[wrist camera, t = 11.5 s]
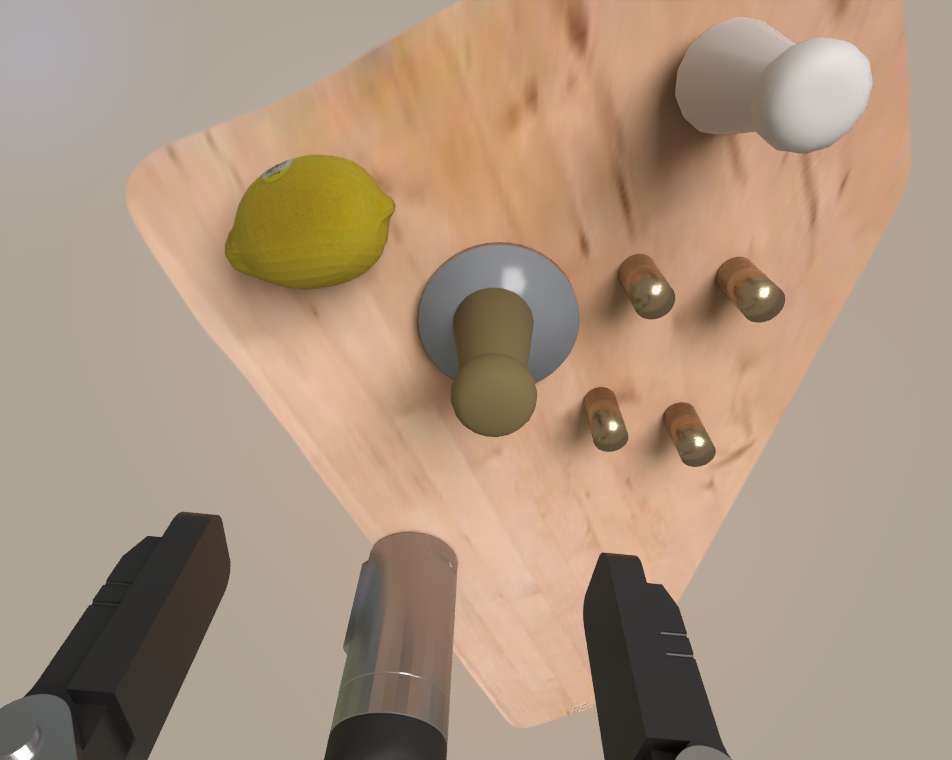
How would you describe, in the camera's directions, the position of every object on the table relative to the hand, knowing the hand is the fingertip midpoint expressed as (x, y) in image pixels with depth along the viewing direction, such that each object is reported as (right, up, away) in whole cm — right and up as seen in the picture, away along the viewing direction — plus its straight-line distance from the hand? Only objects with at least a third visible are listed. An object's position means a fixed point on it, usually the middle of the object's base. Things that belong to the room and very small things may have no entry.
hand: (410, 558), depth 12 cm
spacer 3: (+19, +1, +35) cm, 40 cm away
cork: (+3, +8, +30) cm, 31 cm away
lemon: (-9, +16, +26) cm, 32 cm away
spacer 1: (+12, +2, +34) cm, 36 cm away
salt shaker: (+16, +22, +21) cm, 34 cm away
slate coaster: (+3, +8, +30) cm, 32 cm away
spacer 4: (+20, +11, +28) cm, 36 cm away
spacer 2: (+13, +12, +28) cm, 33 cm away
